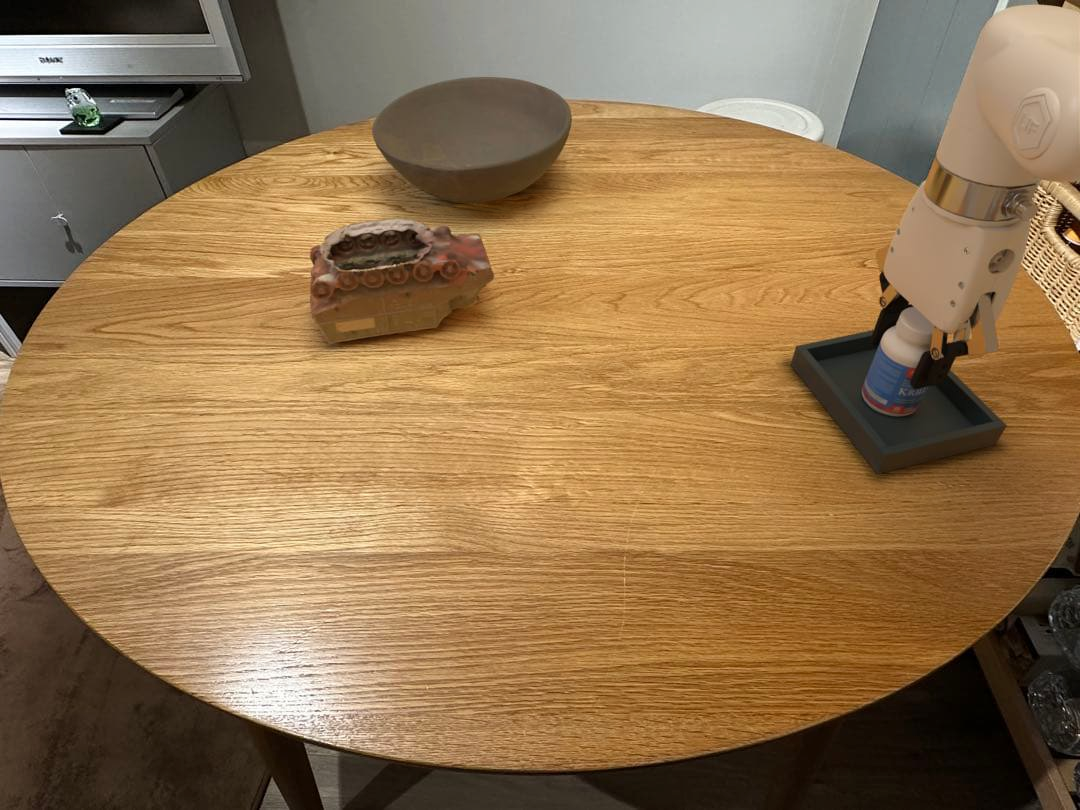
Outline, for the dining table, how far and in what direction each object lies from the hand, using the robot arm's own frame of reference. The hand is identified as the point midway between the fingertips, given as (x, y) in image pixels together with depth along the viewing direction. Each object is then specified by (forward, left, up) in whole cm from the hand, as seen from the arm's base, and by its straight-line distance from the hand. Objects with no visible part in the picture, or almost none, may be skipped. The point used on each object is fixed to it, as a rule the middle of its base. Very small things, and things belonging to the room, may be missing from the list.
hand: (905, 361), depth 72 cm
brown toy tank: (+29, +43, -6) cm, 52 cm away
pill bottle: (0, 0, -5) cm, 5 cm away
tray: (0, 0, -5) cm, 5 cm away
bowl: (+55, +29, -6) cm, 63 cm away
